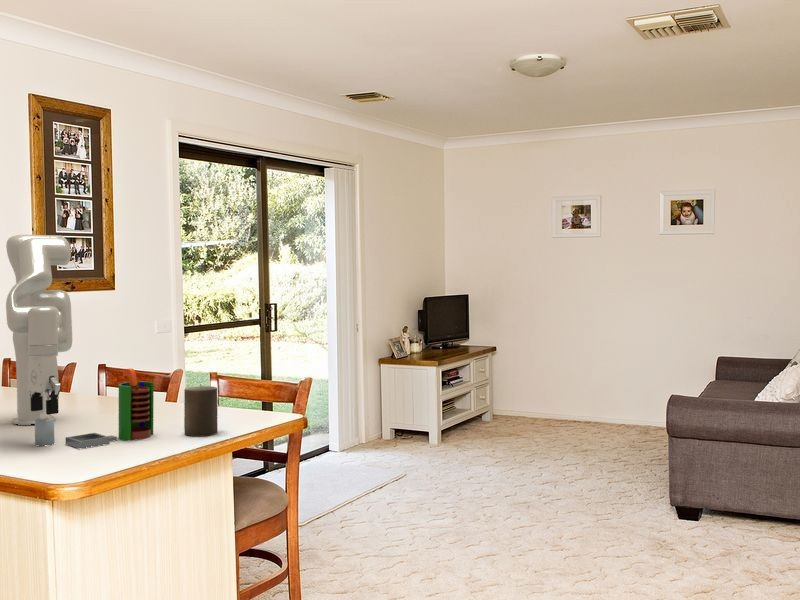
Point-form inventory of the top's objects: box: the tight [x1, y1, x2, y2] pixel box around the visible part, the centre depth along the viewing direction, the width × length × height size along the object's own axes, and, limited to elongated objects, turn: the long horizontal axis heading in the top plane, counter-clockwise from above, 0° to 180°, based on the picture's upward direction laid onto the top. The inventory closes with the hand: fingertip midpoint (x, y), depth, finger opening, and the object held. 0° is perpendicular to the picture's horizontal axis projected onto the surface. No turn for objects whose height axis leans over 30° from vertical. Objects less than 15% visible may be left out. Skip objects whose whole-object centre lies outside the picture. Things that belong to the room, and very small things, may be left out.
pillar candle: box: [183, 383, 218, 437], centre depth 238 cm, size 10×10×15 cm
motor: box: [118, 368, 155, 441], centre depth 232 cm, size 10×9×20 cm
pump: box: [34, 412, 56, 447], centre depth 223 cm, size 5×5×9 cm
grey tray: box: [64, 432, 118, 449], centre depth 224 cm, size 9×12×2 cm
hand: (44, 412), depth 222 cm, fingers open, 9 cm apart
